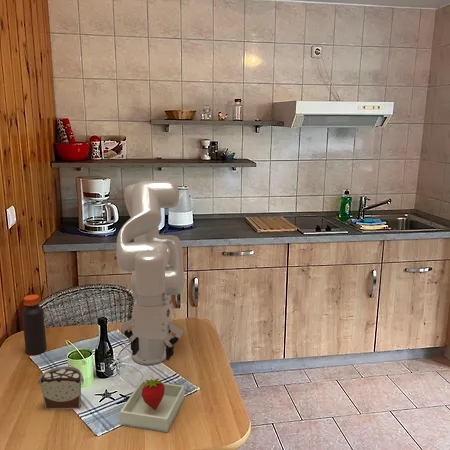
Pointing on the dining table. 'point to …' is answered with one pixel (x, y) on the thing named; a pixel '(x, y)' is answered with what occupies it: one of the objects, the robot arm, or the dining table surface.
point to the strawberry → (153, 393)
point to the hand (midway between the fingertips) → (152, 355)
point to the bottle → (33, 326)
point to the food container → (61, 388)
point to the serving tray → (148, 417)
